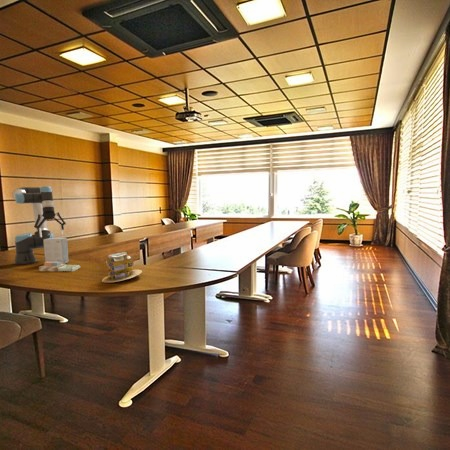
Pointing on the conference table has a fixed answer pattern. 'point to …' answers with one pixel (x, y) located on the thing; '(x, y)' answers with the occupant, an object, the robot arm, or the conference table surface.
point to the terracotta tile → (48, 263)
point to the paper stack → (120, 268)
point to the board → (50, 268)
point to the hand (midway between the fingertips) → (51, 235)
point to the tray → (69, 268)
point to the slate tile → (55, 263)
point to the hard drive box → (56, 250)
